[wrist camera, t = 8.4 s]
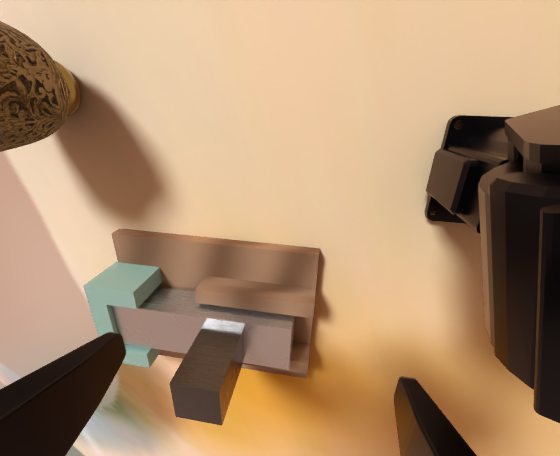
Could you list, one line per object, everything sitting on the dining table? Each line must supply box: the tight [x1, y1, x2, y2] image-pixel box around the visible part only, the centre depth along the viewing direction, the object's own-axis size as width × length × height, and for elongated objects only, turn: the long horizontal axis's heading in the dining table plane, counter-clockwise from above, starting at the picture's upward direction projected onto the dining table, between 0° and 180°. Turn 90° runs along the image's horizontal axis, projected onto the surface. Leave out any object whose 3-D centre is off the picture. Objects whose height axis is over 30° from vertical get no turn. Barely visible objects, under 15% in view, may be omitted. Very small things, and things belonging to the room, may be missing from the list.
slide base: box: [112, 229, 319, 378], centre depth 24 cm, size 17×13×3 cm
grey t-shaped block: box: [112, 287, 295, 425], centre depth 20 cm, size 14×4×8 cm, turn 88°
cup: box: [0, 21, 80, 152], centre depth 16 cm, size 8×7×8 cm
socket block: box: [84, 262, 162, 368], centre depth 23 cm, size 4×8×4 cm, turn 178°
